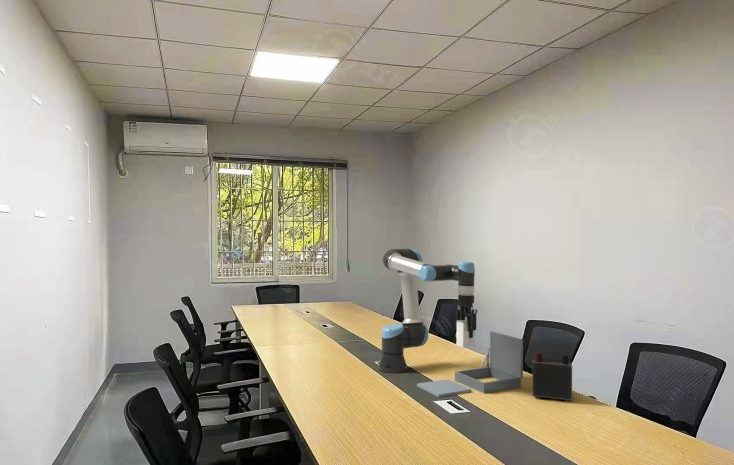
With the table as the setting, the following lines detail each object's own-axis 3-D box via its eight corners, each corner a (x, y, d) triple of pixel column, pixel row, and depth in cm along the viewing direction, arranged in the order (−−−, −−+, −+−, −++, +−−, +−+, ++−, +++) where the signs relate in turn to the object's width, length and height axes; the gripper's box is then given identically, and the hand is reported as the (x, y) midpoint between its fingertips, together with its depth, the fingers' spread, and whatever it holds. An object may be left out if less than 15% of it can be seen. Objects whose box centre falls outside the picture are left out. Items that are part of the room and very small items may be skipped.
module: (456, 345, 235) (456, 320, 236) (468, 344, 239) (468, 319, 239) (463, 347, 231) (463, 322, 231) (474, 346, 234) (475, 321, 234)
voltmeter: (569, 392, 227) (569, 348, 227) (572, 403, 212) (572, 356, 212) (532, 388, 232) (532, 345, 233) (532, 399, 217) (532, 353, 217)
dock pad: (416, 386, 234) (416, 383, 234) (448, 381, 242) (448, 379, 242) (438, 397, 218) (438, 394, 218) (471, 391, 226) (471, 389, 226)
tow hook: (478, 369, 267) (479, 373, 258) (478, 345, 267) (479, 348, 258) (494, 370, 265) (496, 374, 256) (494, 346, 266) (496, 349, 257)
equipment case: (453, 379, 245) (453, 334, 245) (490, 374, 255) (490, 330, 255) (483, 393, 224) (484, 343, 224) (522, 386, 234) (522, 339, 234)
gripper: (485, 296, 229) (484, 346, 229) (460, 292, 245) (459, 339, 245) (472, 297, 225) (471, 348, 225) (448, 292, 241) (447, 340, 241)
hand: (465, 343), depth 235 cm, fingers closed on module, 5 cm apart
